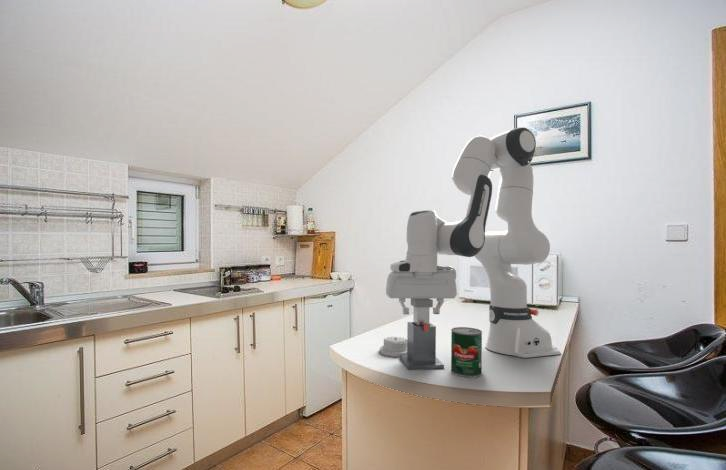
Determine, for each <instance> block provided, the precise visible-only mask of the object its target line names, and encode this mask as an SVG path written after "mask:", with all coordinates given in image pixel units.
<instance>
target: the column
mask: <svg viewBox="0 0 726 470" xmlns="http://www.w3.org/2000/svg"><path fill="white" fill-rule="evenodd" d="M433 302H434V300H433V299H432V298H410V306H412V307H413V319H412V320H413V321H412V322H413V324H414V325H415V326H422V323H428V326H429V322H430V308H433V307H434V304H433Z"/></svg>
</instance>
